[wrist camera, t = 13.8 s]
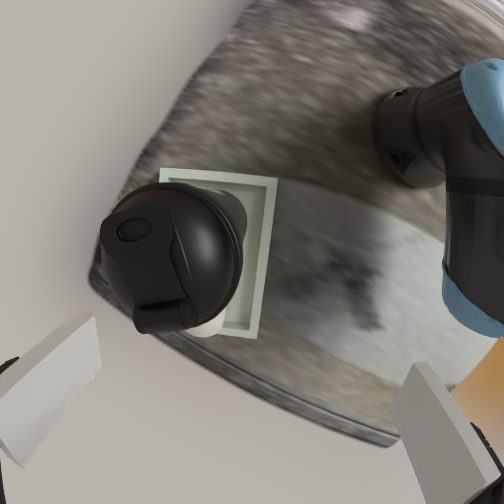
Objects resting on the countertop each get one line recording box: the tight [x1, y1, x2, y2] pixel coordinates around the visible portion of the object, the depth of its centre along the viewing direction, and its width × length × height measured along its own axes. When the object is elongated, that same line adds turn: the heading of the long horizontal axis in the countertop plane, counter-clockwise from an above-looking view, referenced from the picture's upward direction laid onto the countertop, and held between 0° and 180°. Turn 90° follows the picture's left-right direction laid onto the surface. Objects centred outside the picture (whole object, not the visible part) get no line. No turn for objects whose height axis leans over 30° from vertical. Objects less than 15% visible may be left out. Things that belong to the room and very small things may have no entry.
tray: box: [159, 168, 278, 339], centre depth 38 cm, size 22×15×3 cm
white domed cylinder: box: [185, 304, 229, 337], centre depth 37 cm, size 6×6×6 cm
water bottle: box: [100, 182, 247, 334], centre depth 26 cm, size 10×10×23 cm
